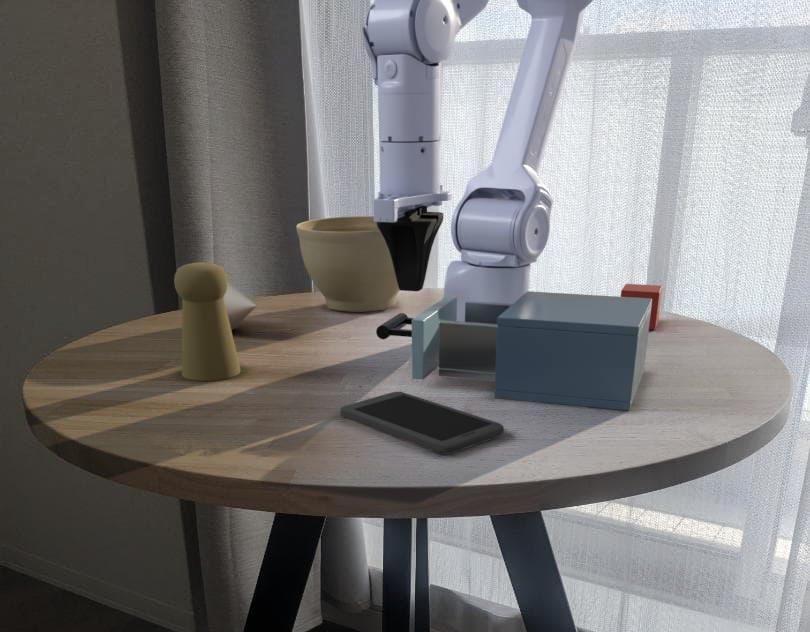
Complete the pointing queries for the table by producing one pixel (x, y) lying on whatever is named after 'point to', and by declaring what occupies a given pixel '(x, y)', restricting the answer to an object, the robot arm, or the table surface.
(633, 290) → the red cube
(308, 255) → the planter bowl
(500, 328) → the cabinet
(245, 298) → the grey cone
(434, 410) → the cell phone
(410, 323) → the drawer
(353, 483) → the table surface
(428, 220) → the robot arm
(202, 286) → the cork
